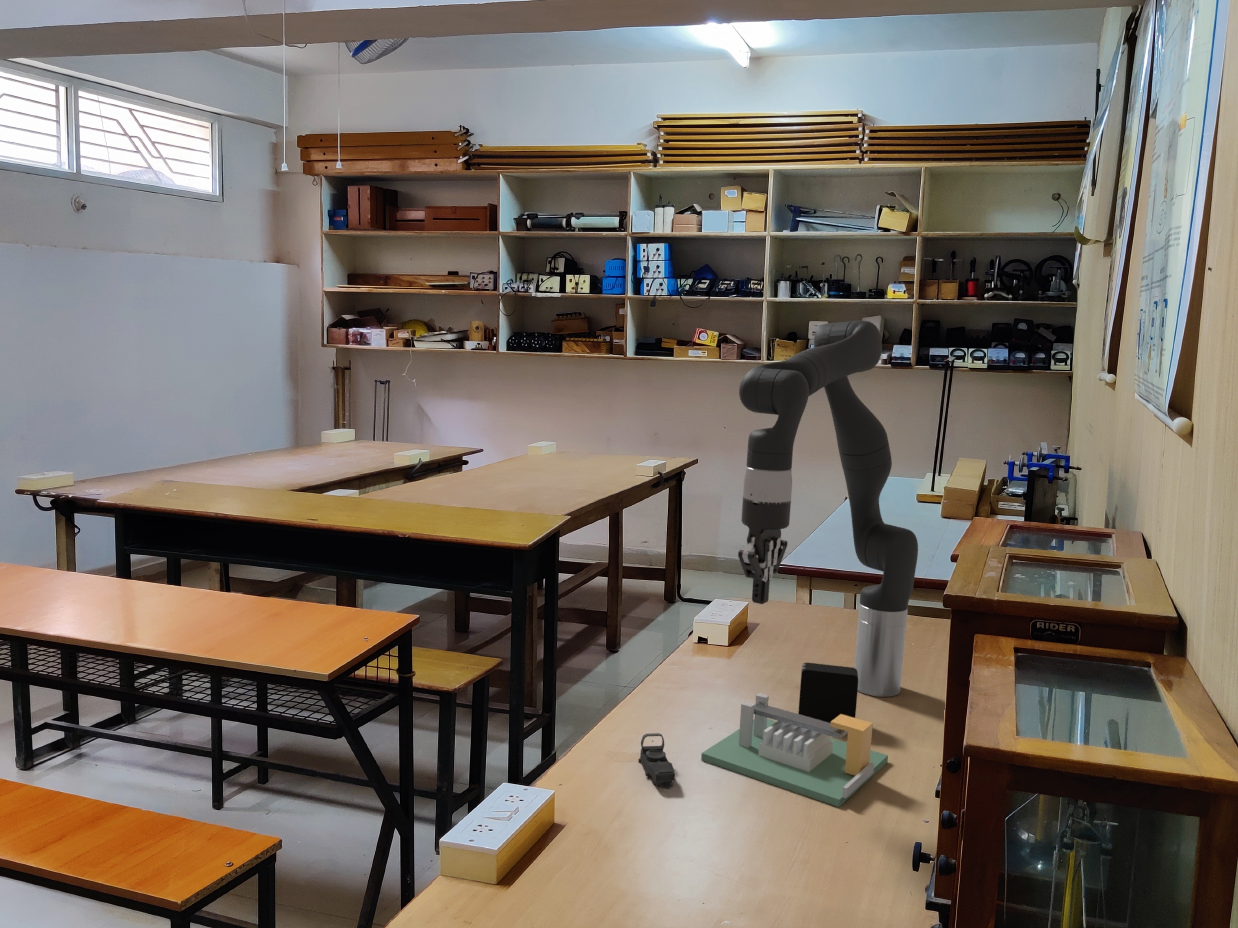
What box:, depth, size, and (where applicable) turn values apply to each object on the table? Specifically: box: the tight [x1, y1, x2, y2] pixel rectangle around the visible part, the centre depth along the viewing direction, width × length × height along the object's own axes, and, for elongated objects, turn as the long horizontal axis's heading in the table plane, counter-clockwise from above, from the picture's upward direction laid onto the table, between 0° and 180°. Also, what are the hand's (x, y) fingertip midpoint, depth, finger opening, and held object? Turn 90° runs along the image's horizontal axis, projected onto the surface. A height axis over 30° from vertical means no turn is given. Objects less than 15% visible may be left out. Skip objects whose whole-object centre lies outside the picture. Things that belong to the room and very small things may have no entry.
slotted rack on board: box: [700, 692, 889, 808], centre depth 162 cm, size 20×25×8 cm
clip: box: [830, 714, 874, 776], centre depth 157 cm, size 4×5×8 cm
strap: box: [753, 702, 848, 740], centre depth 162 cm, size 4×16×1 cm, turn 54°
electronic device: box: [797, 662, 859, 723], centre depth 179 cm, size 4×10×10 cm, turn 78°
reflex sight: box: [638, 732, 676, 789], centre depth 155 cm, size 4×10×5 cm, turn 10°
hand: (759, 602), depth 158 cm, fingers closed
